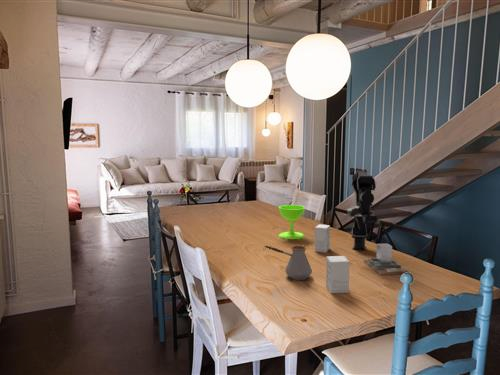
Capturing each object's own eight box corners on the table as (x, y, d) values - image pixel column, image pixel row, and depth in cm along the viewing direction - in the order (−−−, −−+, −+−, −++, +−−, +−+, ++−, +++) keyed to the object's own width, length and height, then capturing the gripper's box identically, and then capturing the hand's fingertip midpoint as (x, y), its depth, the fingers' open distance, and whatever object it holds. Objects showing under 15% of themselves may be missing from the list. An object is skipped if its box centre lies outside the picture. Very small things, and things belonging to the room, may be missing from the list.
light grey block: (376, 262, 181) (376, 243, 180) (386, 262, 182) (387, 243, 180) (380, 265, 176) (381, 246, 175) (391, 265, 177) (392, 246, 176)
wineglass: (304, 233, 243) (304, 205, 241) (305, 239, 227) (305, 209, 225) (278, 232, 245) (278, 204, 242) (278, 239, 229) (278, 209, 227)
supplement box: (343, 285, 156) (344, 255, 154) (349, 293, 148) (349, 261, 147) (325, 286, 156) (326, 255, 154) (330, 293, 148) (330, 261, 147)
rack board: (363, 261, 186) (364, 257, 186) (389, 260, 187) (390, 256, 187) (379, 274, 168) (380, 270, 168) (408, 273, 169) (408, 268, 169)
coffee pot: (305, 271, 173) (306, 238, 172) (316, 280, 162) (316, 245, 161) (260, 275, 168) (259, 242, 166) (267, 285, 157) (267, 249, 155)
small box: (318, 247, 211) (318, 224, 210) (329, 248, 209) (330, 225, 207) (314, 251, 204) (314, 227, 202) (326, 252, 201) (326, 228, 200)
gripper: (342, 198, 197) (341, 228, 199) (355, 204, 179) (354, 237, 181) (363, 198, 198) (362, 227, 200) (379, 204, 180) (377, 236, 182)
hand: (363, 232), depth 191 cm, fingers open, 9 cm apart
